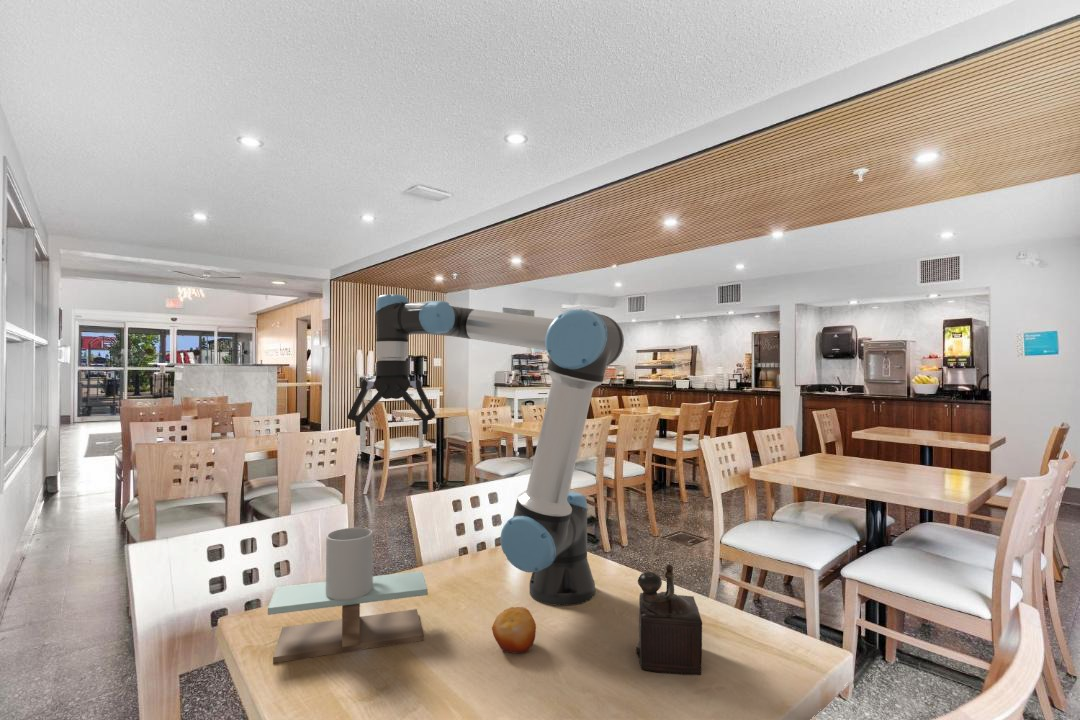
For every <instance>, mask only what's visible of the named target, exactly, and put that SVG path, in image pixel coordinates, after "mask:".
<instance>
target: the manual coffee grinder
mask: <svg viewBox="0 0 1080 720" xmlns="http://www.w3.org/2000/svg"><path fill="white" fill-rule="evenodd" d="M665 569H666V571H665V574H664V576H665V579H666V591H660V592H658V591H659V590H660V589H661V587H662V585H663V584H662V582H663V581H662V578H661V576H660V575H659V573H656V572H653V571H646V572H645V571H644V572H642V573H640V575H639V577H638V579H637V584H638V586H639V587H640V589H641V590H642V592H640V593H639V597H638V600H639V603H638V605H639V606H638V608H639V609H638V610H639V612H638V645H637V646H635V655H636V656H637V657H638V661H639V665H640V668H641V670H643V671H646V672H647V671H648V672H652V673H660V674H671V675H672V674H673V675H680V676H681V675H684V676H690V675H691V676H700V675H702V659H703V655H702V654H703V620H702V618H701V613H700V611H699V607H698V605H697V603H696V600H695V597H694V596H691V595H679V594H677V593H675V583H674V573H673V571H674V566H673V565H672V564H667V565H666V566H665Z"/></svg>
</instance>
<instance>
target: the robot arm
mask: <svg viewBox="0 0 1080 720" xmlns="http://www.w3.org/2000/svg"><path fill="white" fill-rule="evenodd" d="M374 313H375V326H376V327H375V330H376V331H375V333H376V334H375V335H376V337H375V338H376V339H375V358H376V359H378V360H377V361H376V362H375V380H374V381H372V380H367V379H364V380H362V381H361V388H360V391H359V393H358V395H357V397H356V399H355V400H354V403H353V404H352V407H351V409H350V410H349V413H347V416H346V418H347V419H348V420H351V421H354V423H355V435H356V436H360V437H359V444H360V445H359V451H364V450H365V449H366V446H367V444H366V440H367V439H366V437H367V435H366V434H367V433H366V431H367V427H366V426H367V425H366V424H367V423H366V420H364V421H363V419H364V418H365V417H366V416H367V415H368V414H369V413H370V411H372V409H373V408H374V407H375V406H376V405H377V403H379V401H380V400H381V399H382V398H383V399H385V400H390V399H394V400H399V399H401V398H403V400H404V401H405V402H406V403H407V404H408V405H409V406H410V407H411V409H412V410H413V411H414V412H415V413H416V414H417V415H418V416H419V418H420V419H421V420H419V421H418V450H422V449H424V435H427V434H428V433H429V420H432V419H434V418H435V417H436V412H435V409H434V408H433V407H432V405H431V404H432V403H430V401H429V399H428V397H427V394H426V393H425V391H424V389H423V382H422V380H421V379H417V380H411V381H410V379H409V361H408V360H407V359H408V358H409V335H434V336H435V335H436V336H445V337H453V338H454V337H456V338H462V339H468V340H477V341H483V342H489V343H496V344H501V345H509V346H515V347H520V348H521V347H522V348H528V349H535V350H539V351H540V350H541V351H546V352H547V353H548V356H549V358H548V363H547V366H546V367H547V368H546V371H547V373H548V375H549V376H550V378H551V383H550V388H549V392H548V396H547V400H546V405H545V410H544V413H543V419H542V421H541V422H542V423H541V428H540V432H539V434H538V435H539V436H538V439H537V444H536V449H535V454H534V457H533V461H532V466H531V471H530V475H529V478H528V479H529V480H528V484H527V488H526V490H525V491H523V492H521V493H519V494H518V496H517V498H516V503H515V508H514V512H513V516H512V517H511V518H509V519H508V520H507V521H506V523H505V524H504V525H503V528H502V529H501V532H500V538H499V540H500V541H499V542H500V545H501V547H500V548H501V550H502V552H503V554H504V555H505V557H506V559H507V561H508V562H509V563H510V564H511V565H512V566H513V567H515V568H516V569H518V570H520V571H522V572H525V573H531V576H530V578H529V579H530V580H529V595H530V596H531V597H532V598H533V599H534V600H536V601H537V602H539V603H543V604H547V605H551V606H552V605H553V606H573V605H574V606H575V605H580V604H583V603H586V602H587V601H588V602H589V601H590V600H592V599H593V598H594V597H595V595H596V583H595V580H594V578H593V577H594V576H593V574H592V570H591V567H590V564H589V561H588V511H589V509H588V503H587V498H586V496H585V495H584V494H583V493H580V492H576V491H575V492H574V491H570V489H571V484H572V480H573V475H574V471H575V468H576V467H575V466H576V462H577V459H578V456H579V455H578V454H579V450H580V446H581V441H582V438H583V433H584V429H585V425H586V421H587V418H588V417H587V416H588V413H589V409H590V408H589V407H590V404H591V399H592V396H593V391H594V389H595V388H597V387H598V386H600V385H602V384H603V381H604V377H605V373H606V369H607V366H610V365H611V364H613V363H614V362H615V361H617V360H618V359H619V357H620V355H621V354H622V352H623V350H624V347H625V346H624V344H625V343H624V342H625V339H624V338H625V336H624V333H623V330H622V328H621V327H620V325H619V324H618V323H617V322H616V321H615V320H614V319H613V318H611V317H610V316H607V315H604V314H600V313H597V312H595V311H591V310H588V309H570V310H566V311H564V312H562V313H561V314H559V315H558V316H556V317H555V318H549V317H541V316H531V315H524V314H518V313H517V314H516V313H508V312H500V311H492V310H485V309H474V308H468V307H463V306H462V307H460V306H453V305H450V303H449V302H447V301H446V300H445V301H444V300H429V301H418V302H416V301H415V302H409V298H408V297H407V295H402V294H396V293H395V294H392V293H391V294H382V295H379V296H378V297H377V298H376V305H375V312H374ZM411 386H412V388H413V390H416V393H418V396H419V398H420V401H421V402H422V403H423V406H424V407H425V410H426V412H427V414H426V412H425V411H423V409H422V408H421V407H420V406H419V404H418V403H417V402H416V401H415V400H414V399H413V398H412V396H411V394H409V393H408V392H407V391H408V390H409V388H410V387H411ZM372 388H374V389H375V390H376V391H377V392H376V394H375V395H374V396H373V397H372V398H371V399H370V400H369V402H368V404H366V405H365V407H364V408H363V409H362V410H361V411H360V412H359V413H358V411H359V410H360V407H361V405H362V403H363V402H364V399H365V397H366V396H367V394H368V391H369V390H371V389H372ZM357 413H358V414H357Z"/></svg>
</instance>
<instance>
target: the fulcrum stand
mask: <svg viewBox="0 0 1080 720" xmlns="http://www.w3.org/2000/svg"><path fill="white" fill-rule="evenodd" d="M360 604H361V603H360ZM360 604H352V605H344V606H341V607H342V608H341V612H342V613H341V615H342V617H341V618H339V619H334V620H333V619H332V620H325V621H319V622H318V621H317V622H311V623H303V624H302V623H301V624H295V625H289V626H282V628H281V630H280V634H279V637H278V639H277V644H276V647H275V650H274V652H273V657H272V663H273V664H275V663H277V664H278V663H281V662H287V661H294V660H296V661H297V660H300V659H303V660H304V659H309V658H316V657H322V656H328V655H335V654H341V653H348V652H355V651H361V650H368V649H374V648H375V649H376V648H381V647H389V646H393V645H400V644H407V643H408V642H409V643H415V642H420V641H424V640H423V639H424V638H423V637H424V635H423V629H422V625H421V621H420V618H419V617H420V616H419V612H418V609H417V608H415V609H408V610H407V609H406V610H401V611H399V610H398V611H392V612H384V613H379V614H378V613H377V614H370V615H363V616H361V614H360V613H361V612H360V611H361V605H360Z"/></svg>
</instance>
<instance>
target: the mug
mask: <svg viewBox="0 0 1080 720" xmlns="http://www.w3.org/2000/svg"><path fill="white" fill-rule="evenodd" d="M373 533H374V532H373V531H372V529H369V528H365V527H346V528H339V529H336V530H332V531H330V532H329V533H328V534H327V535H326V538H325V539H326V540H325V541H326V542H325V545H326V546H325V547H326V548H325V582H326V596H327V597H328V598H330V599H334V600H351V599H356V598H360V597H363V596H365V595H367V594H369V593H370V592H371V591H372V588H373V576H374V574H373V573H374V572H373V570H374V569H373V563H374V562H373V560H374V559H373V558H374V557H373V554H374V541H373V539H374V537H373Z"/></svg>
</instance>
